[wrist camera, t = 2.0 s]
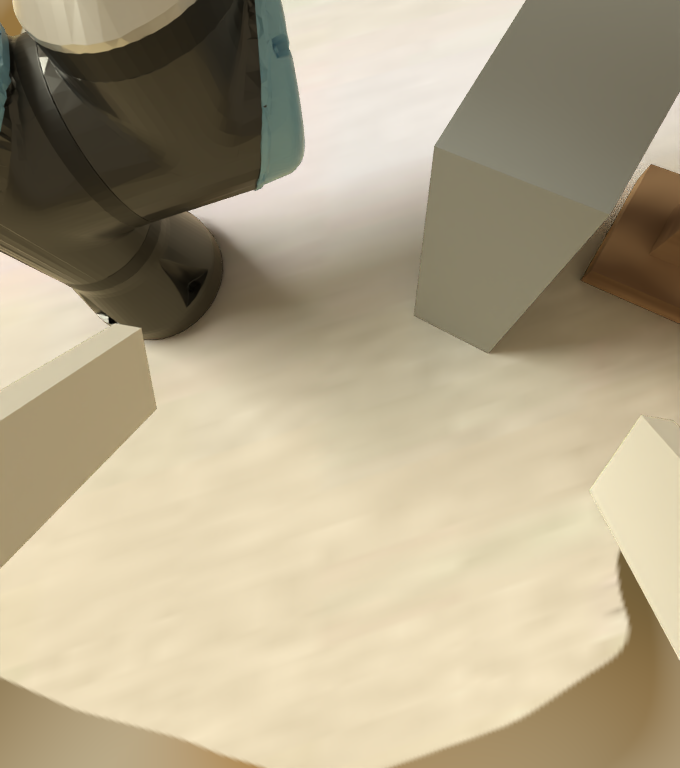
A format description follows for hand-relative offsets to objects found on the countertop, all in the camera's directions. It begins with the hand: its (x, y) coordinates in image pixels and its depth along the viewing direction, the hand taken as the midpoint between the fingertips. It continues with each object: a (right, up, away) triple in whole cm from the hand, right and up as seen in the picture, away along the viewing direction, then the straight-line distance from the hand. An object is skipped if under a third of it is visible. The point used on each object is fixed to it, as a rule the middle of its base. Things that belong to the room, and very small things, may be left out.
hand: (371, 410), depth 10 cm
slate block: (+14, +13, +27) cm, 33 cm away
